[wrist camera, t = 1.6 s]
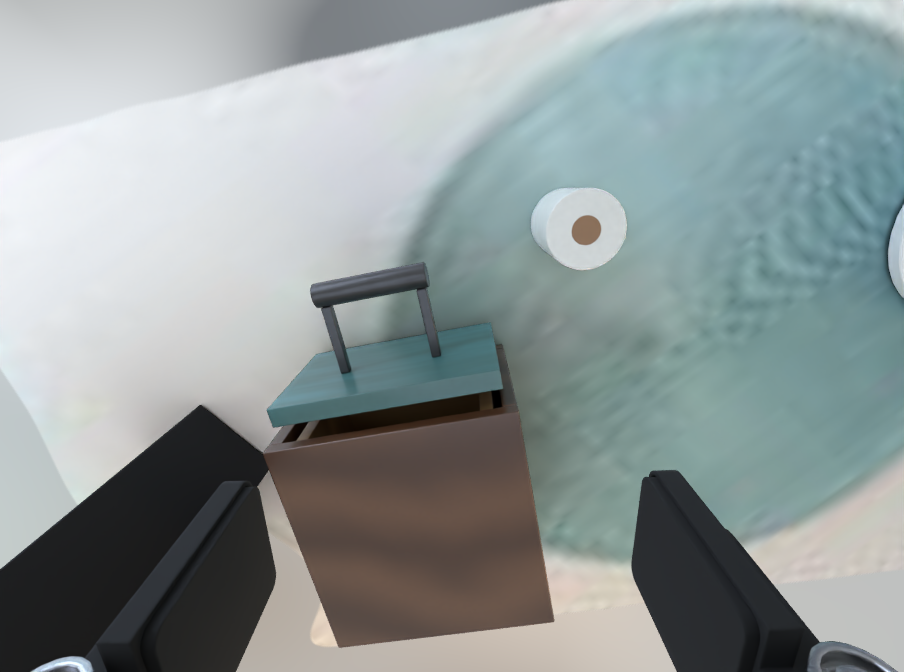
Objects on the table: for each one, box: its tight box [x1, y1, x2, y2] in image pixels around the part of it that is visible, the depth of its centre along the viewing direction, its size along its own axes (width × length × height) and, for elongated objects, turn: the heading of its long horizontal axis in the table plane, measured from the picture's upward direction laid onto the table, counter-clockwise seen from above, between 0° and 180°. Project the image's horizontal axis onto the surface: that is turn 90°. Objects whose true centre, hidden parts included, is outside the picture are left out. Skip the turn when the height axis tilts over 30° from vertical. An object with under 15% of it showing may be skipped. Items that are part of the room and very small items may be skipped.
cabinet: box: [263, 344, 554, 648], centre depth 32 cm, size 16×15×11 cm
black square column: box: [0, 405, 269, 672], centre depth 24 cm, size 8×8×28 cm
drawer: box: [267, 262, 503, 441], centre depth 30 cm, size 20×14×9 cm, turn 11°
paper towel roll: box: [531, 188, 627, 270], centre depth 28 cm, size 5×5×6 cm
